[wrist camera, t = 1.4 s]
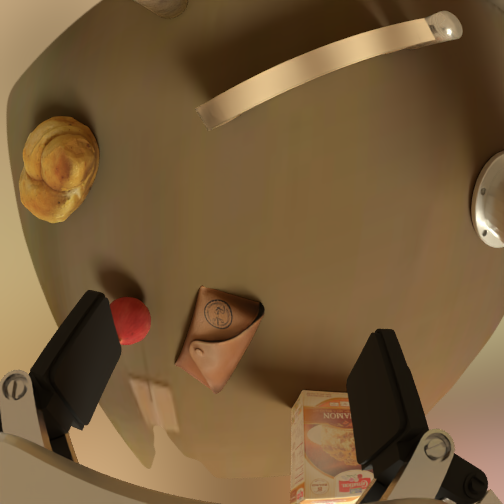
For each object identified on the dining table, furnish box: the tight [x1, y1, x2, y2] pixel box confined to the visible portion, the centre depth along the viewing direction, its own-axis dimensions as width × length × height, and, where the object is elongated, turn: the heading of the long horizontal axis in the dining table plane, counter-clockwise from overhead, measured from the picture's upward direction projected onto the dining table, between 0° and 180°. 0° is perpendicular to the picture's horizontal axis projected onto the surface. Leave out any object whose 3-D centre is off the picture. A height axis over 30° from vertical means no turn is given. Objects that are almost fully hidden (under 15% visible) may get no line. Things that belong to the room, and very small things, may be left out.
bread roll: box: [19, 116, 100, 223], centre depth 24 cm, size 13×10×8 cm
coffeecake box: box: [290, 390, 374, 504], centre depth 36 cm, size 15×7×20 cm, turn 80°
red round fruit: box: [110, 297, 151, 345], centre depth 33 cm, size 6×6×8 cm
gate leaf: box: [195, 18, 435, 131], centre depth 18 cm, size 18×2×7 cm, turn 118°
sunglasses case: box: [175, 286, 265, 394], centre depth 37 cm, size 18×7×7 cm
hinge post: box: [406, 11, 463, 50], centre depth 15 cm, size 2×2×8 cm
